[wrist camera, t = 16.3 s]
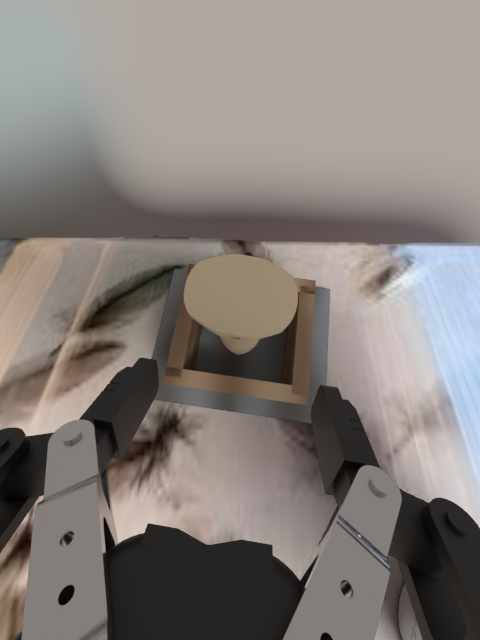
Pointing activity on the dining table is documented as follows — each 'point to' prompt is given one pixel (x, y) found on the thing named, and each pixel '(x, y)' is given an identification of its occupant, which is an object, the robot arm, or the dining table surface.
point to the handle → (240, 299)
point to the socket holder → (244, 359)
